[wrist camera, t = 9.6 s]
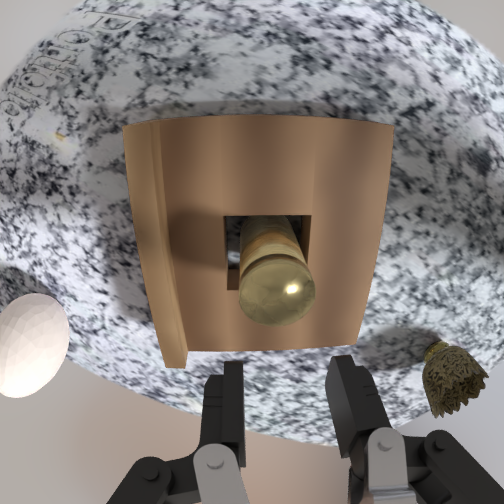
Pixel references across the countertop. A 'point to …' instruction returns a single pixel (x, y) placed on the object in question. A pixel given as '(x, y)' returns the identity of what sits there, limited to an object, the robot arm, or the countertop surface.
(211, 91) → the countertop surface
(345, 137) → the jig
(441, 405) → the cup
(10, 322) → the egg
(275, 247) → the brass cylinder peg
